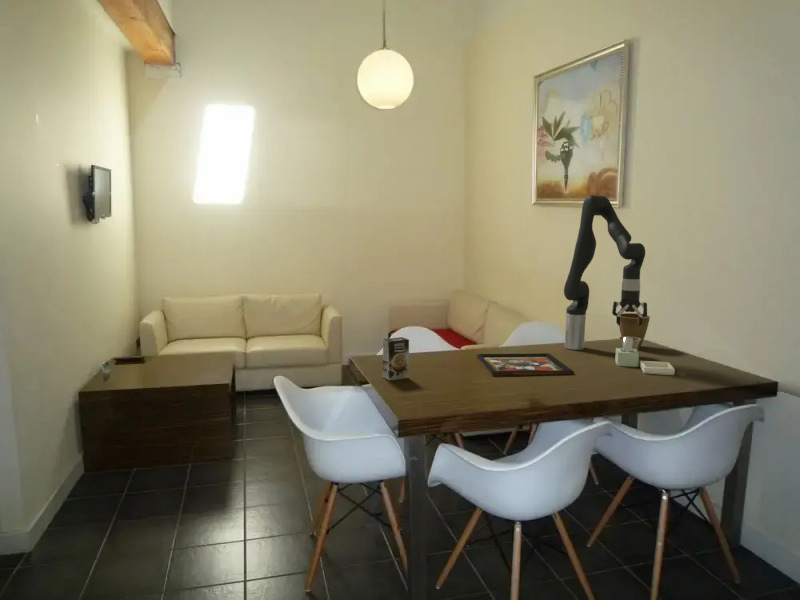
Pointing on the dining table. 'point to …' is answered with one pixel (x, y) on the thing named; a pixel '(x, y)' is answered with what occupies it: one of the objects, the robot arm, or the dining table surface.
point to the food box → (395, 358)
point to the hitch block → (626, 358)
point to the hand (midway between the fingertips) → (628, 325)
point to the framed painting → (523, 364)
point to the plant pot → (633, 326)
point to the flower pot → (634, 344)
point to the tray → (656, 367)
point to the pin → (627, 344)
